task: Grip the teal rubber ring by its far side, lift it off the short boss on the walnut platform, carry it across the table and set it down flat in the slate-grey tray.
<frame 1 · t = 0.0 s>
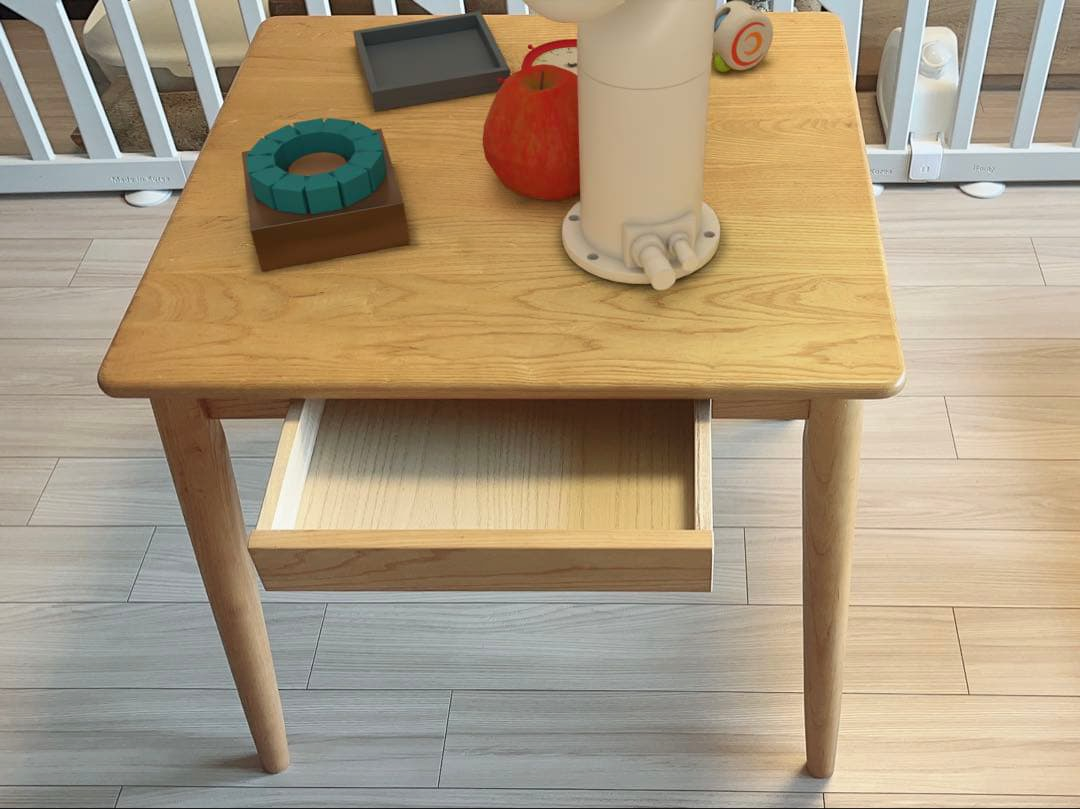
apple: (548, 184, 97), on the table, touching arm
tray: (431, 68, 113), on the table
roller toy: (736, 65, 111), on the table
alarm clock: (588, 106, 107), on the table
ring: (319, 176, 92), point 4 cm above the table, touching platform
platform: (328, 217, 95), on the table
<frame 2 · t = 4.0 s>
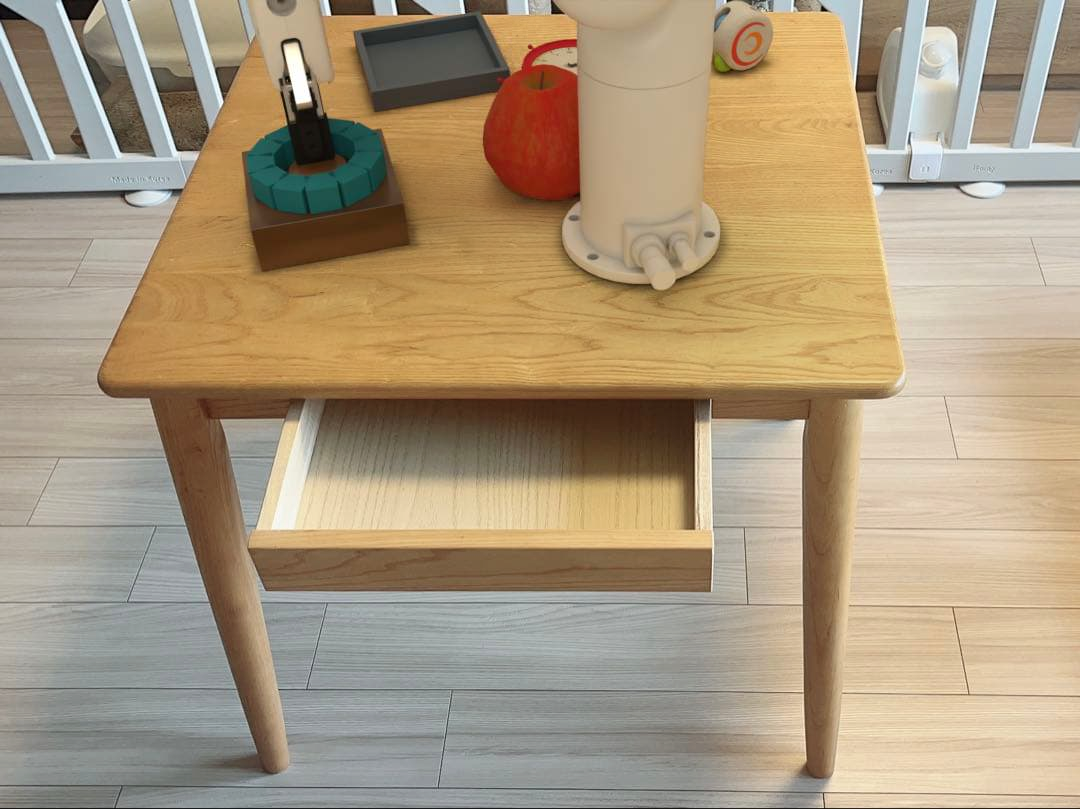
hand: (311, 142, 94), 5 cm above the table, tool pointing down, fingers open, 4 cm apart
nothing on the table moved.
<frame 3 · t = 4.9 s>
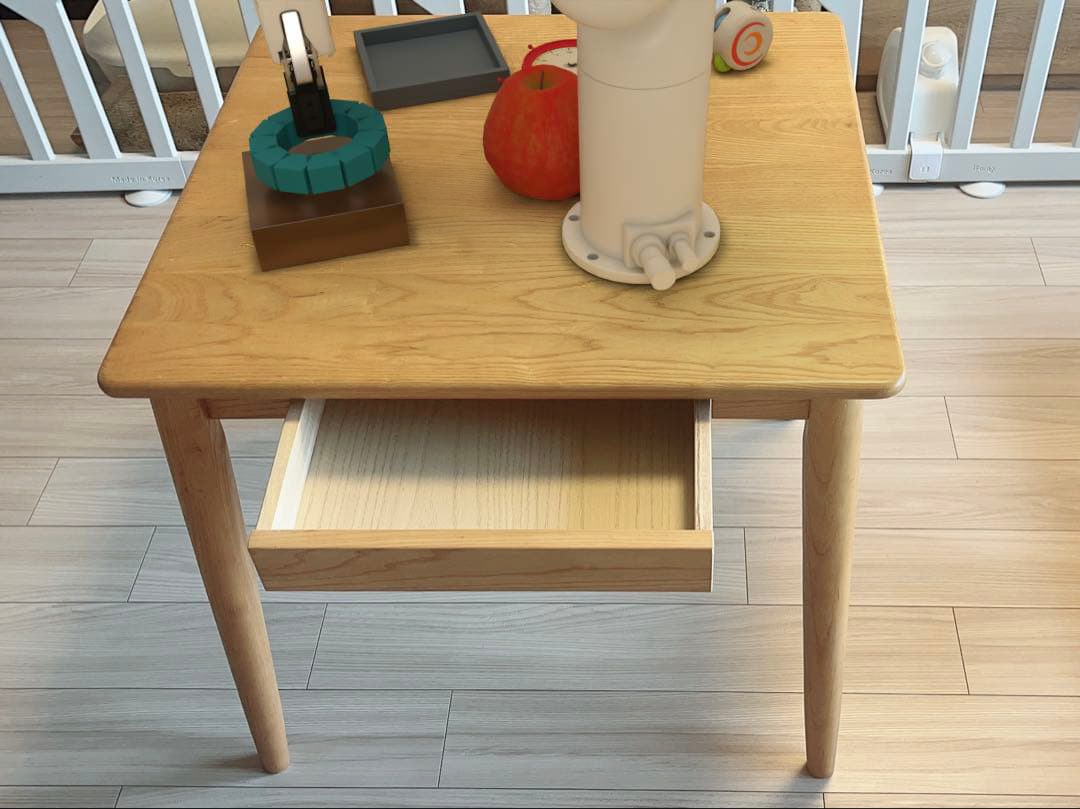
hand: (314, 121, 93), 7 cm above the table, tool pointing down, fingers closed on ring, 2 cm apart
ring: (322, 157, 91), point 6 cm above the table, touching gripper
everything else where it was.
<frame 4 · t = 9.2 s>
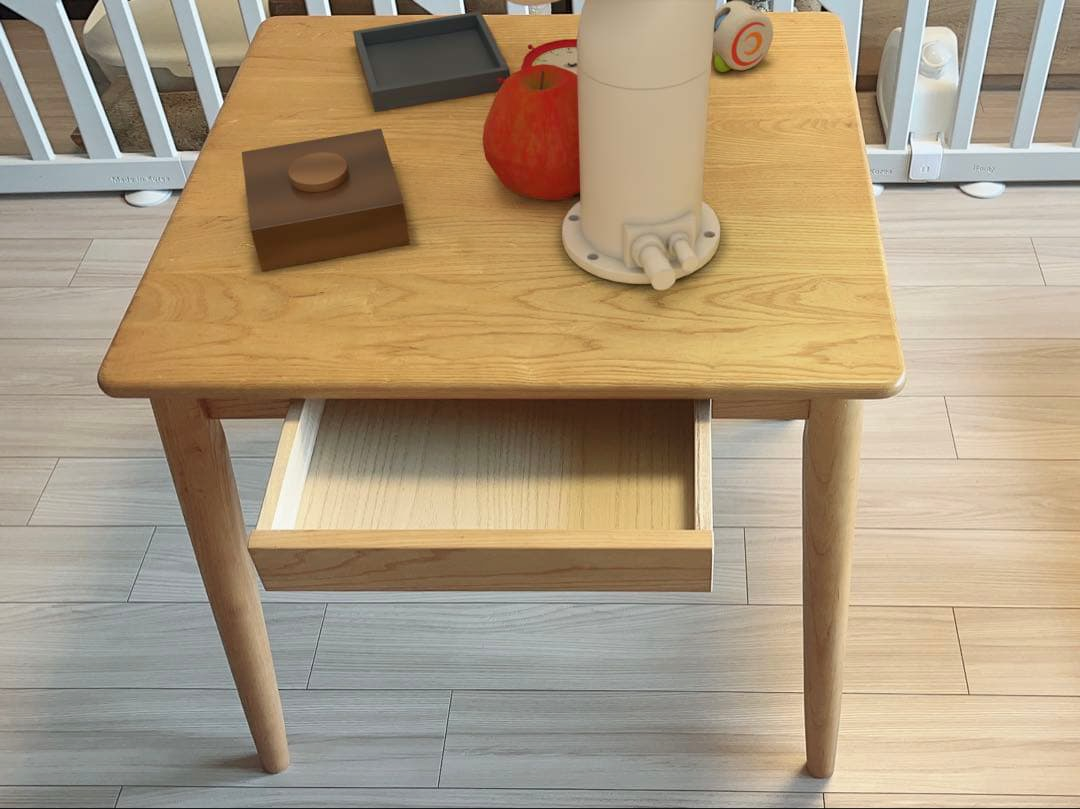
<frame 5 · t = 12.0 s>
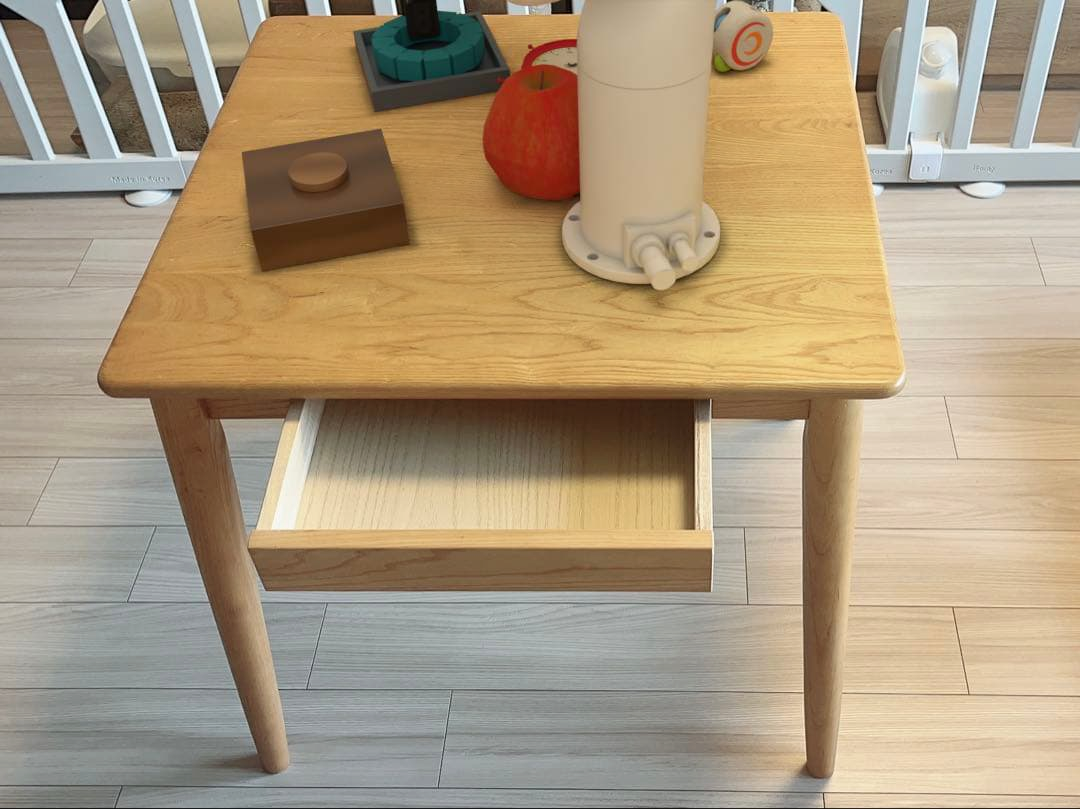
hand: (421, 28, 114), 2 cm above the table, tool pointing down, fingers closed on ring, 2 cm apart
ring: (429, 55, 112), point 1 cm above the table, touching gripper
everything else where it was.
when the fingers open (3 cm above the table, at t = 13.8 s): ring drops 1 cm, resting on tray.
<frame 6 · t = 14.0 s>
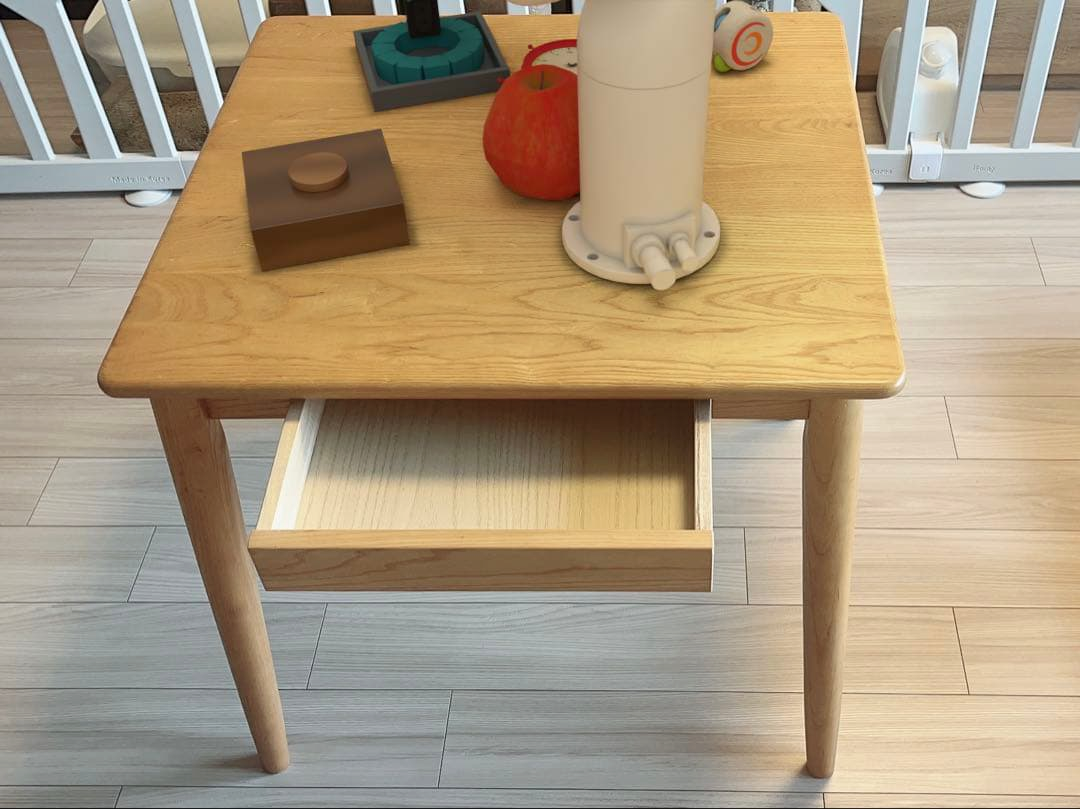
hand: (420, 22, 114), 3 cm above the table, tool pointing down, fingers open, 4 cm apart
ring: (429, 61, 113), point 1 cm above the table, touching tray
everything else where it was.
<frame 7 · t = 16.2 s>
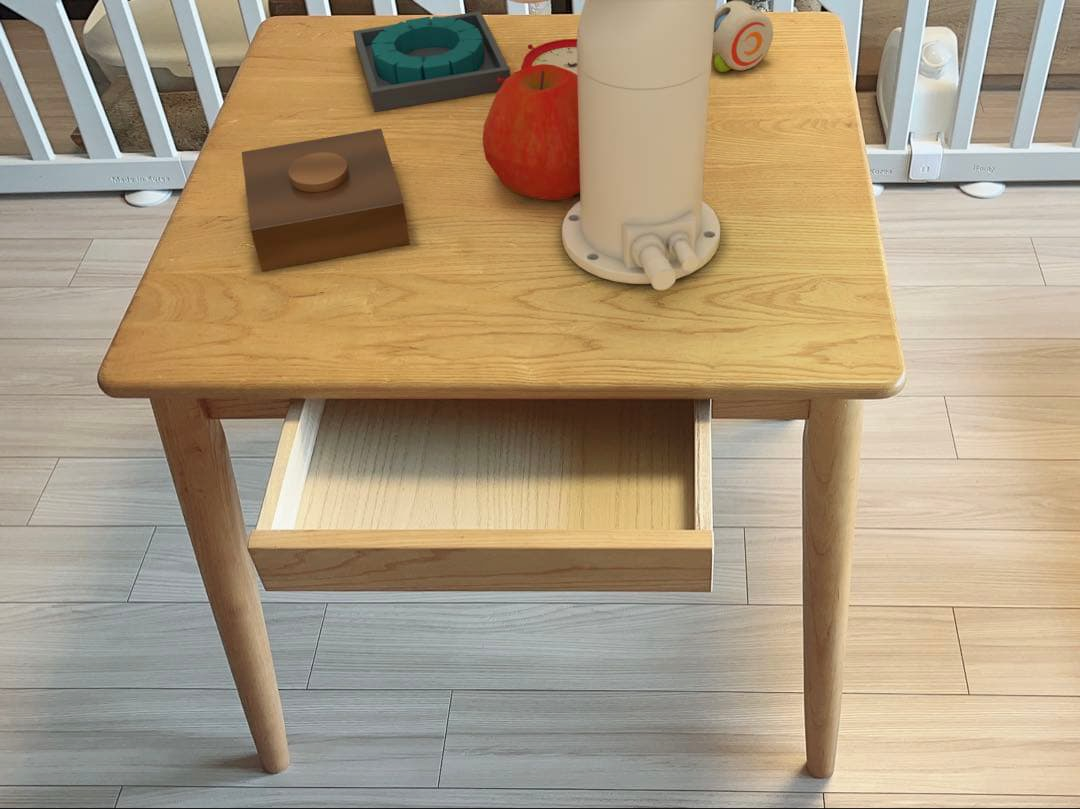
nothing on the table moved.
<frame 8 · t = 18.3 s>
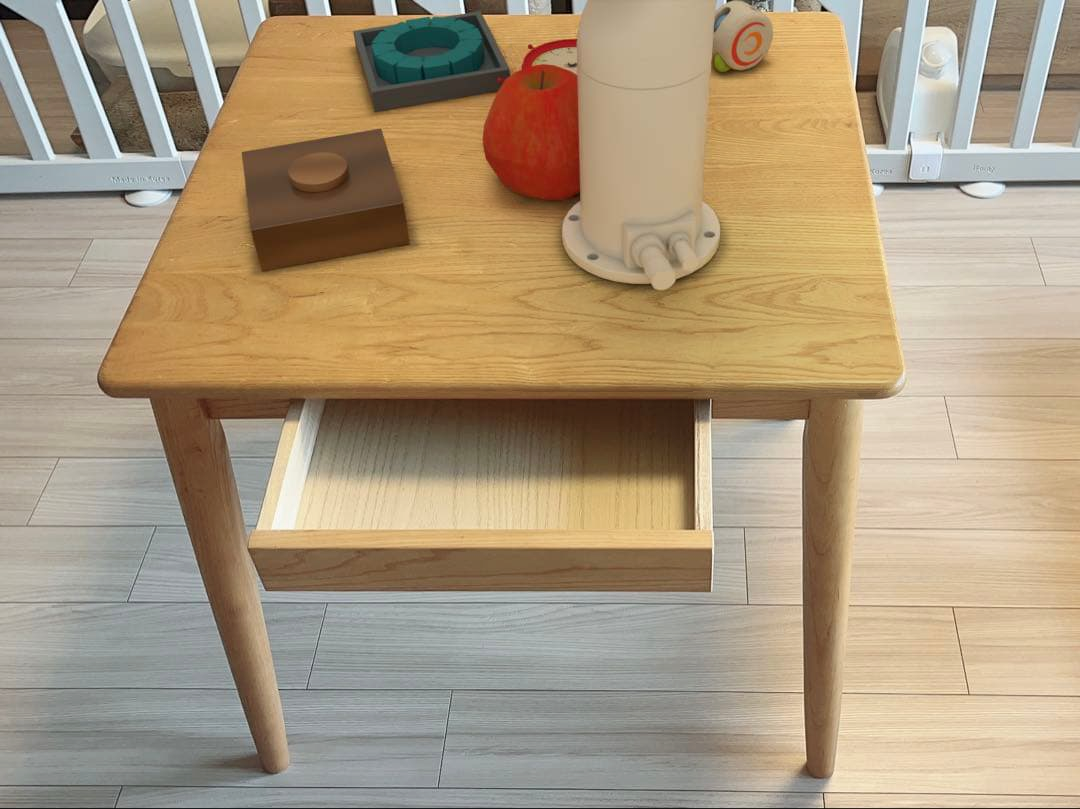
nothing on the table moved.
at the end: ring inside the target area in the tray (0.3 cm from its centre), point 0.6 cm above the tray's base; ring touching tray; ring tilted 0° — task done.
